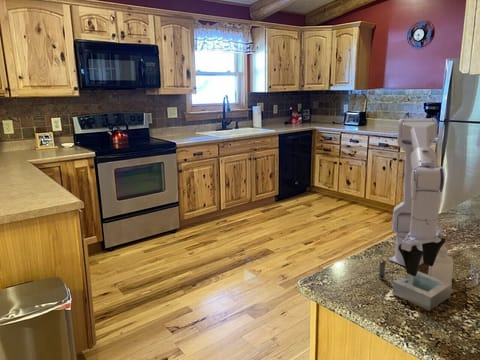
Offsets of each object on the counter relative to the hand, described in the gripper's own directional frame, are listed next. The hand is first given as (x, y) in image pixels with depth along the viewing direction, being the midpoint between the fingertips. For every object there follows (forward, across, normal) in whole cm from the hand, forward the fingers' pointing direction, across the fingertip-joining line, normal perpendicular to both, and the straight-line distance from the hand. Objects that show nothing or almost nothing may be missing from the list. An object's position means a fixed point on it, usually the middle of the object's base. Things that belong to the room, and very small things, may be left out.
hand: (420, 269), depth 92 cm
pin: (+9, +4, +13) cm, 17 cm away
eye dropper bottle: (+10, +13, +1) cm, 17 cm away
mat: (+9, +4, +1) cm, 10 cm away
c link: (+9, +4, +1) cm, 10 cm away
